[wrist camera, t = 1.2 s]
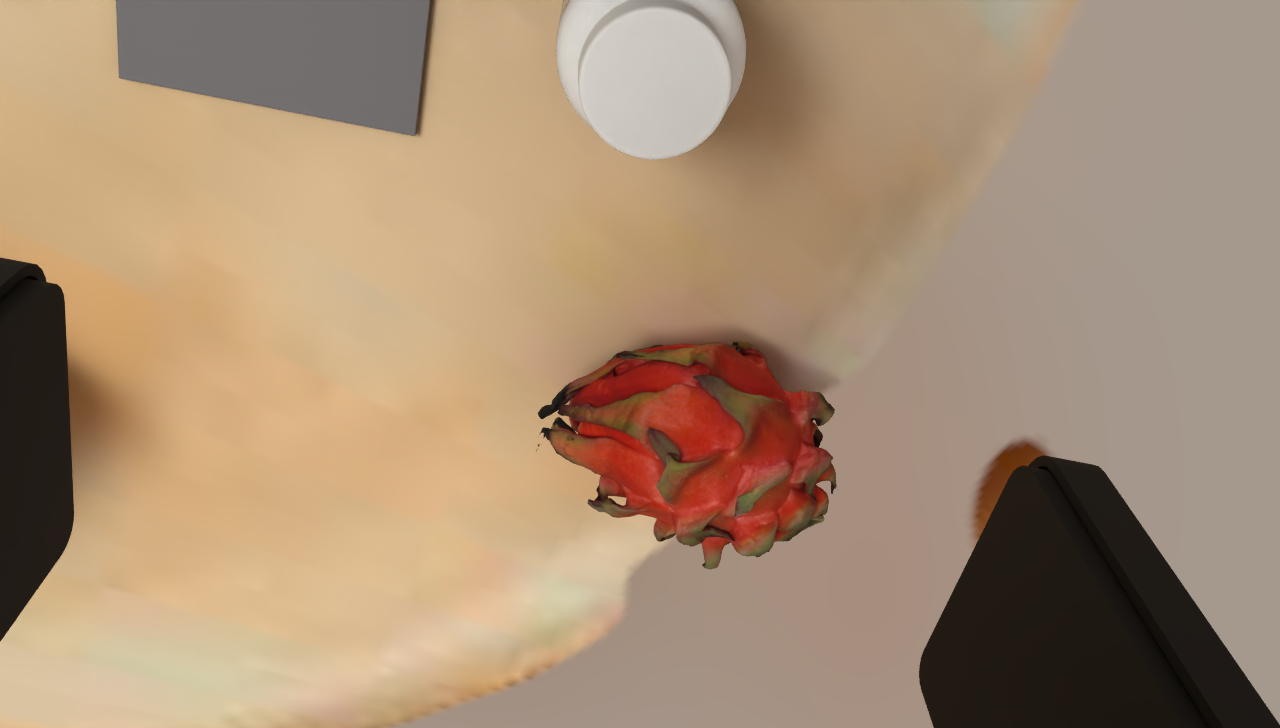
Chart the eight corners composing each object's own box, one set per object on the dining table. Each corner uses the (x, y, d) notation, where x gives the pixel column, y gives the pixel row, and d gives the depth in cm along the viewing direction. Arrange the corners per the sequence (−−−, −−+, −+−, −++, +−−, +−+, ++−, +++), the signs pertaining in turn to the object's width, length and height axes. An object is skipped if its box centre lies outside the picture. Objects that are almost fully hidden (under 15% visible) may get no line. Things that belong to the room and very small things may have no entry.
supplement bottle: (754, 21, 36) (800, 109, 27) (626, 113, 37) (632, 222, 29) (664, -120, 33) (683, -71, 25) (531, -16, 35) (507, 64, 26)
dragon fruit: (824, 426, 46) (566, 339, 46) (902, 350, 38) (593, 243, 38) (783, 612, 43) (503, 520, 42) (860, 569, 35) (518, 456, 34)
